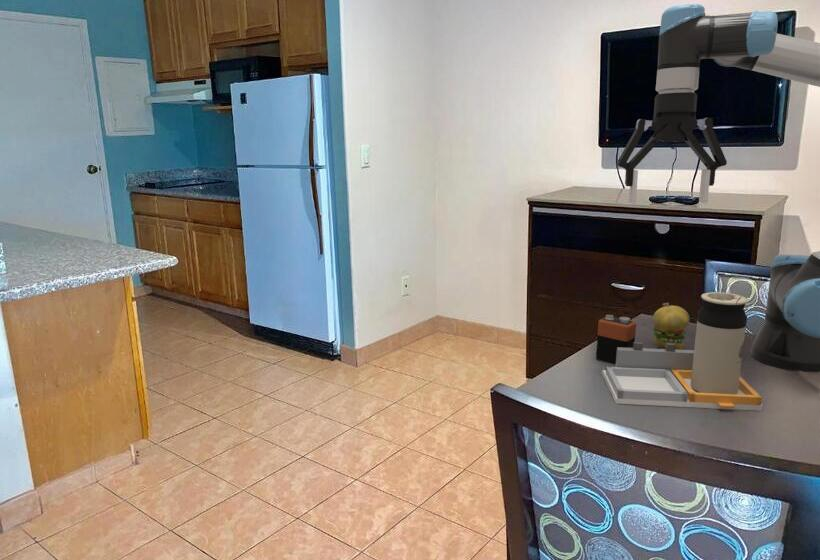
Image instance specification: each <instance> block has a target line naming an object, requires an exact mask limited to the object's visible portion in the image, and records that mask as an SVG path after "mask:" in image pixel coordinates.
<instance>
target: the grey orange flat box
mask: <svg viewBox="0 0 820 560" xmlns="http://www.w3.org/2000/svg"><path fill="white" fill-rule="evenodd" d="M643 345H644V344H643V342H642V341H635V342H633V348H622V347H617V354H616V364H615V366H606V369H602V372H601V374H602V375H601V376H602V378H603V379H604V381H605V383H606V385H607V388H608V389H609V392H610V394H611V396H612V398H613V401H614V403H615V404H617V405H619V404H620V405H638V406H639V405H640V406H642V405H643V406H657V407H659V406H660V407H680V408H698V409H717V410H718V409H719V410H736V411H737V410H739V411H740V410H742V411H758V412H759V411H760V412H763V406H764V405H763V404H762V402H763V401H762V399H763V397H762V396H761V395H760V394H759V393H758V392H757V391H756V390H755V389H754V388H753V387H752V386H751V385H749V383H747V382H746V380H745V379H743V378H742V377H741V376H740V379H739V387H738V393H737V394H717V393H700V392H698V391H696V390H695V389H693V388H692V387H691V376H692V366H693V357H694V349H684V350H676V349H675V347H676V345H675V344H674V343H666V346H665V349H662V348H649V347H648V348H645V347H644V346H643Z"/></svg>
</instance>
